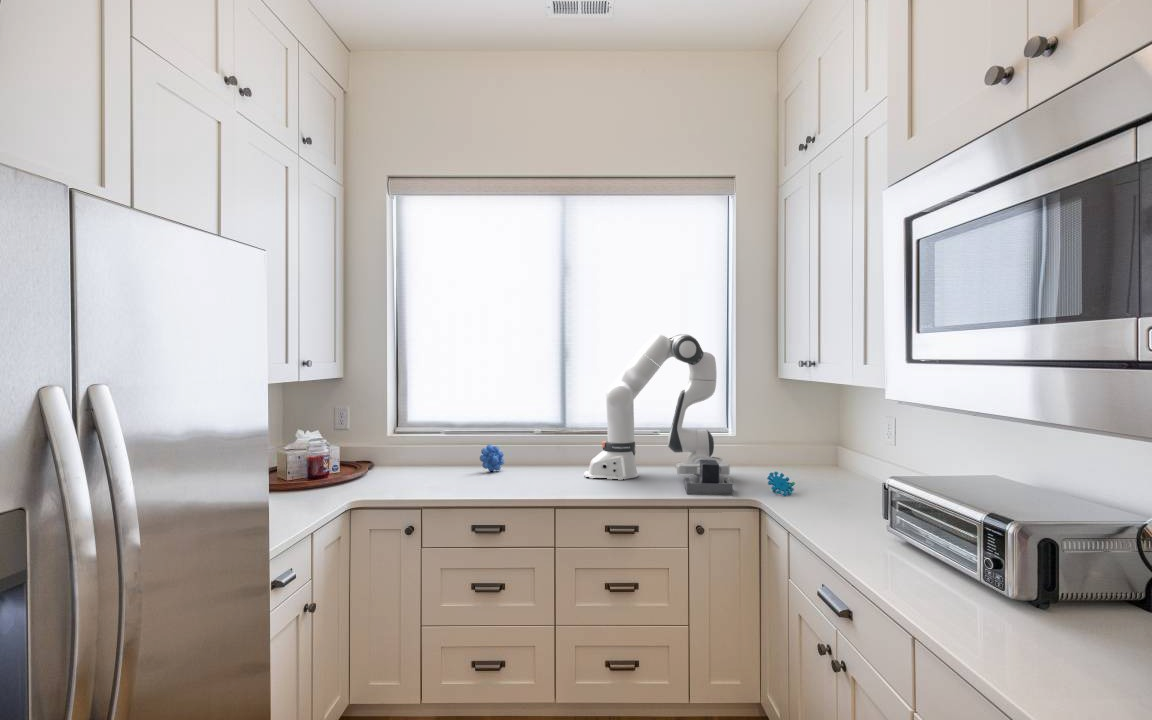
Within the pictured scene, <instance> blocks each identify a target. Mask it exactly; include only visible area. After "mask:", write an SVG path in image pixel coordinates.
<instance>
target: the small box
mask: <svg viewBox="0 0 1152 720" xmlns="http://www.w3.org/2000/svg"><path fill="white" fill-rule="evenodd" d="M699 483H720V475H719V464H718V463H717V462H716V460H700V477H699Z"/></svg>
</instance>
